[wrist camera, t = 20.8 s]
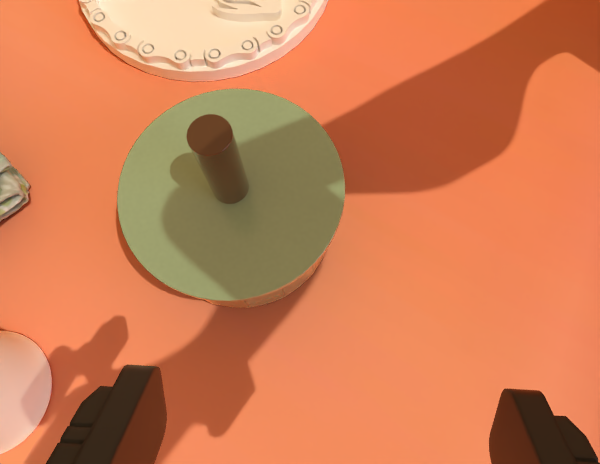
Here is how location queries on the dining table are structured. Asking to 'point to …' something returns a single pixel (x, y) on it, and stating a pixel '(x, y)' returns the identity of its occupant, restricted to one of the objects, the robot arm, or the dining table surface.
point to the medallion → (201, 33)
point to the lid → (231, 195)
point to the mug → (21, 388)
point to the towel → (11, 189)
